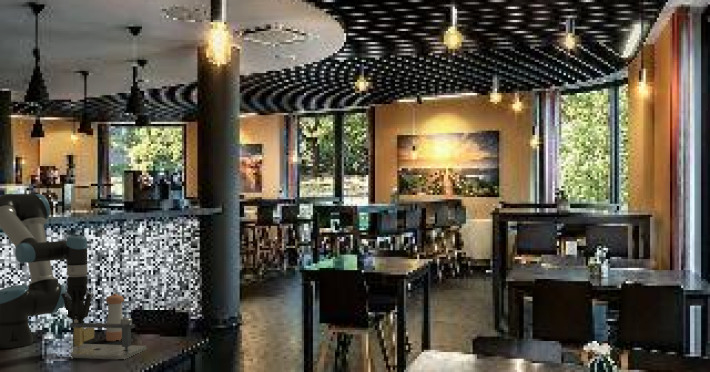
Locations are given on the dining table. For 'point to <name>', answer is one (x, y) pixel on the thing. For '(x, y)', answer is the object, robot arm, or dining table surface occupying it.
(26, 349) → the dining table surface
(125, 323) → the divider beam
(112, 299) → the salt shaker
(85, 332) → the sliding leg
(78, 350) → the bolt plate
